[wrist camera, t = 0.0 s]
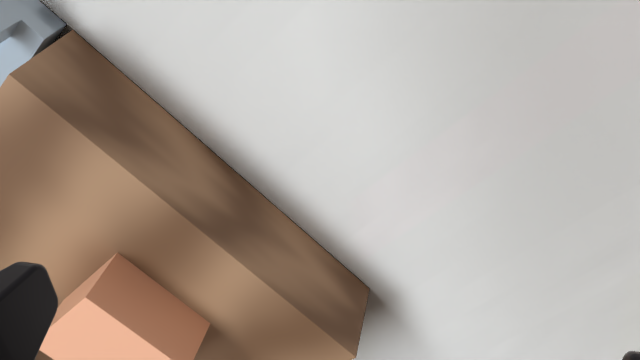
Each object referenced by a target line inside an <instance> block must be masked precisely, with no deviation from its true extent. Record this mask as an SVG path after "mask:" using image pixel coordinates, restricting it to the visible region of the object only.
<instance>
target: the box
mask: <svg viewBox="0 0 640 360" xmlns="http://www.w3.org/2000/svg"><path fill="white" fill-rule="evenodd" d="M65 26H66V23H64V22H63V21H62V20H61V19H60V18H59V17H58V16H56V15H55V14H54V13H53V12H52V11H51V10H50V9H48V8H47V7H46V6H45V5H44V4H43V3H41V2H40V1H39V0H0V87H1V85H2V84H3V82H4V81H5V79H6V78H7V76H8V75H9V74H10V73H11V72H13V71H14V70H16V69H17V68H18V67H20V66H21V65H23V64H24V63H26V62H27V61H29V60H30V59H31V58H33V57H34V56H36V55H37V54H39V53H40V52H41V51H43V50H44V49H46V48H47V47H49V46H50V45H52V44H53V43H54V42H55V40H56V39H57V37H58V36H59V34H60V33H61V31H62V30H63V29H64V27H65Z"/></svg>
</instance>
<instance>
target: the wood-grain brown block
mask: <svg viewBox="0 0 640 360" xmlns="http://www.w3.org/2000/svg"><path fill="white" fill-rule="evenodd" d="M116 253H119V254H120V255H121V256H123V257H124V258H125V259H127V260H128V261H129V262H131V263H132V264H133V265H134V266H136V267H137V268H138V269H140V270H141V271H142V272H144V273H145V274H146V275H148V276H149V277H150V278H152V279H153V280H154V281H155V282H157V283H158V284H159V285H161V286H162V287H163V288H165V289H166V290H167V291H169V292H170V293H171V294H173V295H174V296H175V297H176V298H178V299H179V300H180V301H182V302H183V303H184V304H186V305H187V306H188V307H190V308H191V309H192V310H193V311H195V312H196V313H197V314H199V315H200V316H201V317H203V318H204V319H205V320H207V321H208V322H209V323H210V325H209V328H208V330H207V332H206V334H205V336H204V338H203V341H202V343H201V345H200V347H199V349H198V351H197V353H196V356H195V358H194V360H352V359H354V358H356V355H357V350H358V345H359V339H360V334H361V329H362V324H363V319H364V314H365V309H366V304H367V299H368V294H369V288H368V287H367V286H366V285H365V284H364V283H363V282H361V281H360V280H359V279H358V278H357V277H356V276H354V275H353V274H352V273H351V272H350V271H349V270H348V269H346V268H345V267H344V266H343V265H342V264H341V263H340V262H338V261H337V260H336V259H335V258H334V257H333V256H332V255H330V254H329V253H328V252H327V251H326V250H325V249H324V248H322V247H321V246H320V245H319V244H318V243H317V242H315V241H314V240H313V239H312V238H311V237H310V236H309V235H307V234H306V233H305V232H304V231H303V230H302V229H301V228H299V227H298V226H297V225H296V224H295V223H294V222H293V221H291V220H290V219H289V218H288V217H287V216H286V215H285V214H283V213H282V212H281V211H280V210H279V209H278V208H277V207H275V206H274V205H273V204H272V203H271V202H270V201H268V200H267V199H266V198H265V197H264V196H263V195H262V194H260V193H259V192H258V191H257V190H256V189H255V188H254V187H252V186H251V185H250V184H249V183H248V182H247V181H246V180H244V179H243V178H242V177H241V176H240V175H239V174H238V173H236V172H235V171H234V170H233V169H232V168H231V167H230V166H228V165H227V164H226V163H225V162H224V161H223V160H221V159H220V158H219V157H218V156H217V155H216V154H215V153H213V152H212V151H211V150H210V149H209V148H208V147H207V146H205V145H204V144H203V143H202V142H201V141H200V140H199V139H197V138H196V137H195V136H194V135H193V134H192V133H191V132H189V131H188V130H187V129H186V128H185V127H184V126H183V125H181V124H180V123H179V122H178V121H177V120H176V119H174V118H173V117H172V116H171V115H170V114H169V113H168V112H166V111H165V110H164V109H163V108H162V107H161V106H160V105H158V104H157V103H156V102H155V101H154V100H153V99H152V98H150V97H149V96H148V95H147V94H146V93H145V92H144V91H142V90H141V89H140V88H139V87H138V86H137V85H135V84H134V83H133V82H132V81H131V80H130V79H129V78H127V77H126V76H125V75H124V74H123V73H122V72H121V71H119V70H118V69H117V68H116V67H115V66H114V65H113V64H111V63H110V62H109V61H108V60H107V59H106V58H105V57H103V56H102V55H101V54H100V53H99V52H98V51H97V50H95V49H94V48H93V47H92V46H91V45H90V44H88V43H87V42H86V41H85V40H84V39H83V38H82V37H80V36H79V35H78V34H77V33H76V32H75V31H74V30H72V31H70V32H69V33H67V34H66V35H65V36H63V37H62V38H60V39H59V40H57V41H56V42H54V43H53V44H52V45H50V46H49V47H47V48H46V49H44V50H43V51H41V52H40V53H39V54H37V55H36V56H34V57H33V58H31V59H30V60H29V61H27V62H26V63H24V64H23V65H21V66H20V67H18V68H17V69H16V70H14V71H13V72H11V73H10V74H9V75H8V76H7V78H6V79H5V81H4V82H3V84H2V85H1V87H0V271H1V270H3V269H5V268H6V267H8V266H10V265H12V264H14V263H16V262H30V263H37V264H41V265H43V266H44V267H45V268H46V270H47V272H48V274H49V277H50V279H51V282H52V284H53V287H54V289H55V292H56V294H57V297H58V307H59V305H60V304H61V303H62V301H63V300H64V299H65V298H66V297H68V296H69V295H70V294H71V293H72V292H73V291H74V290H75V289H77V288H78V287H79V286H80V285H81V284H82V283H83V282H84V281H86V280H87V279H88V278H89V277H90V276H91V275H92V274H94V273H95V272H96V271H97V270H98V269H99V268H100V267H101V266H103V265H104V264H105V263H106V262H107V261H108V260H109V259H111V258H112V257H113V256H114V255H115V254H116ZM35 360H54V359H52V358H51V357H49V356H48V355H46V354H45V353H43V352H42V351H40V350H39V351H38V354H37V356H36V358H35Z"/></svg>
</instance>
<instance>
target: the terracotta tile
mask: <svg viewBox="0 0 640 360" xmlns="http://www.w3.org/2000/svg"><path fill="white" fill-rule="evenodd" d="M209 325H210V323H209V322H208V321H207V320H205V319H204V318H203V317H201V316H200V315H199V314H197V313H196V312H195V311H193V310H192V309H191V308H190V307H188V306H187V305H186V304H184V303H183V302H182V301H180V300H179V299H178V298H176V297H175V296H174V295H173V294H171V293H170V292H169V291H167V290H166V289H165V288H163V287H162V286H161V285H159V284H158V283H157V282H155V281H154V280H153V279H152V278H150V277H149V276H148V275H146V274H145V273H144V272H142V271H141V270H140V269H138V268H137V267H136V266H134V265H133V264H132V263H131V262H129V261H128V260H127V259H125V258H124V257H123V256H121V255H120V254H119V253H116V254H115V255H114V256H113V257H112V258H111V259H109V260H108V261H107V262H106V263H105V264H104V265H103V266H101V267H100V268H99V269H98V270H97V271H96V272H95V273H94V274H92V275H91V276H90V277H89V278H88V279H87V280H86V281H84V282H83V283H82V284H81V285H80V286H79V287H78V288H77V289H75V290H74V291H73V292H72V293H71V294H70V295H69V296H68V297H66V298H65V299H64V300H63V301H62V303H61V304H60V305H59V307H58V308H57V312H56V314H55V317H54V319H53V321H52V323H51V325H50V327H49V330H48V332H47V334H46V336H45V338H44V340H43V343H42V345H41V347H40V349H39V350H40V351H42V352H43V353H45V354H46V355H48V356H49V357H51V358H52V359H54V360H194V358H195V356H196V353H197V351H198V349H199V347H200V345H201V343H202V341H203V338H204V336H205V334H206V332H207V330H208V328H209Z"/></svg>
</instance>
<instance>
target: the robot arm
mask: <svg viewBox="0 0 640 360" xmlns="http://www.w3.org/2000/svg"><path fill="white" fill-rule="evenodd" d="M57 308H58V297H57V294H56V292H55V289H54V287H53V284H52V282H51V279H50V277H49V274H48V272H47V270H46V268H45V267H44V266H43V265H41V264H37V263H30V262H16V263H14V264H12V265H10V266H8V267H6V268H5V269H3V270H1V271H0V360H35V358H36V356H37V354H38V351H39V349H40V347H41V345H42V343H43V340H44V338H45V336H46V334H47V332H48V330H49V327H50V325H51V323H52V321H53V319H54V317H55V314H56V312H57ZM622 360H640V352H636V351H629V352H627V353H626V354H625V355H624V357H623V359H622Z"/></svg>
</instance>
